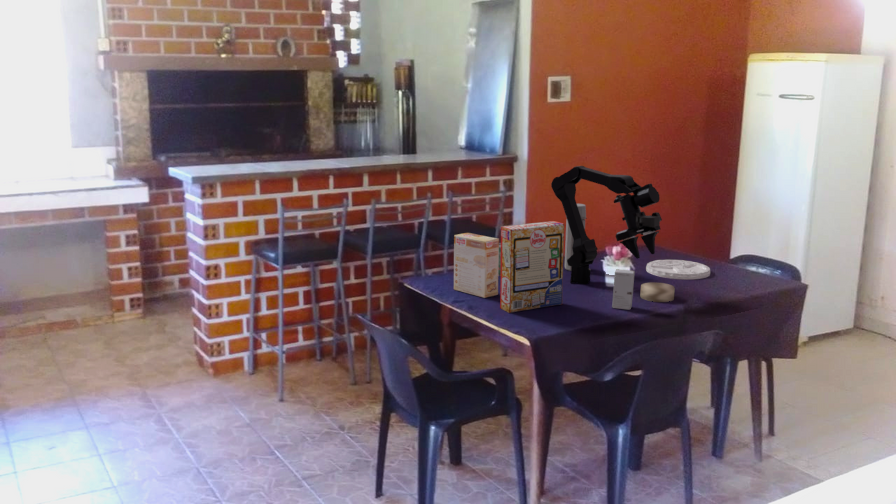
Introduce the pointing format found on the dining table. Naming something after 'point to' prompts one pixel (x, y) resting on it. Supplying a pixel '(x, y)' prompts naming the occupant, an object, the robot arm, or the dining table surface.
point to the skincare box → (623, 289)
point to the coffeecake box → (476, 264)
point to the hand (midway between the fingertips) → (645, 256)
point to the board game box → (531, 266)
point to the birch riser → (657, 292)
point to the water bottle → (570, 238)
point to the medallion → (678, 269)
